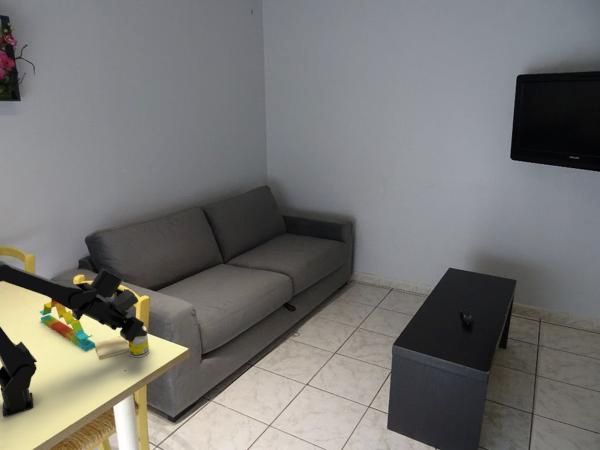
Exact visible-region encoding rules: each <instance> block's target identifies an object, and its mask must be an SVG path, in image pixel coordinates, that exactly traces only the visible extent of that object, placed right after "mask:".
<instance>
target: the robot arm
mask: <svg viewBox="0 0 600 450" xmlns="http://www.w3.org/2000/svg"><path fill="white" fill-rule="evenodd" d="M123 281H124V279H123V278H121V277H119V276H118V275H116V274H114V273H112V272H111V271H109V270H106V269H104V268H101V269H100V270H99V271H98V273H97V275H96V277H94V279H93V281H92V282H91V284H90V283H89V282H86V281H85V282H82V283H81V282H80V283H73V282H71V281H65V280H53V279H49V278H47V277H44V276H41V275H38V274H35V273H32V272H31V271H27V270H24V269H21V268H19V267H17V266H14V265H11V264H8V263H6V262H5V261H2V260H0V283H2V282H4V283H8V284H10V285H13V286H16V287H20V288H23V289H25V290H27V291H31V292H34V293H37V294H39V295H43V296H46V297H48V298H49V299H53V300H54V301H56V302H58V303H59V304H61V305H63V306H64V307H65V309H68V310H70V311H71V313H72V316H73V317H74V319H75V320H79V321H80V320H81V318H82V317H83V315H84V316H86V317H88V318H91V319H93V320H95V321H97V322H98V323H99V324H100V325H103V326H107V327H109V328H110V329H111V330H113V331H116V330H117V329H120V331H119V333H120V334H119V336H122V337H123V338H124V339H125V340H127V342H128V341H129V342H132V341H133V340H134V339H135V337H141V336H146V335H147V336H148V331H147V332H146V331H145V330H144V329H143V328H142V327H143V326H145V325H144V324H145V322H144V321H143V320H141V319H139V318H138V317H136V316H134V315H133V316H130V317H128V316H127V315H128V314H129V312H128V310H129V309H130V308H132V307H133V306H134V305H136V304H138V302H139V299H138V297H137V296H136V294H135V293H134V292H133V291H132V290H130V289H126V288H124V289H120V288H119V287H120V286H121V284H122V283H123ZM99 296H100V297H99ZM101 297H102V298H104V299H102V298H101ZM111 297H113V300H105V299H107V298H108V299H110V298H111ZM129 342H128V343H129ZM0 363H1V365H2V366H1V367H0V393H1V397H2V400H3V401H2V415H3V416H2V417H4V418H5V417H8V416H11V415H15V414H17V413H20V412H24V411H28V410H30V409H32V408H34V397H33V396H34V395H33V393H32V392H30V389H29V388H30V386H31V382H32V377H34V375H35V374H36V371H37V370H38V369H37V365H36V363H38V361H37V359H36V358H35V356H34V355H33V354H32V353H31V352H30V350H29V349H28V347H26V345H25V344H24V342H23V341H19V343H17V344H15V343H14V342H13V341H12V340H11V338H10V337H9V336H8V335H7V333H6V332H5V330H4V329H3V328H2V326H0Z"/></svg>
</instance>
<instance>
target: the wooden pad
mask: <svg viewBox="0 0 600 450" xmlns="http://www.w3.org/2000/svg"><path fill="white" fill-rule="evenodd" d="M94 343H95V348H94V349H95V351H96V354H97V356H98V359H99V360H102V359H105V358H106V359H107V358H110V357H113V356H116V355H120V354H123V353H127V352H130V350H129V342H128V341H127V340H125V339H124V338H123V337H122V336H120V335H119V336H115V337H111V338H107V339H103V340H100V341H95V342H94Z"/></svg>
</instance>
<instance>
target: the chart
mask: <svg viewBox="0 0 600 450" xmlns="http://www.w3.org/2000/svg"><path fill="white" fill-rule="evenodd" d="M50 299H51V298H50ZM53 308H55V309H56V312H57V315H58V318H59V319H62V318H63V319H64V322H65V323H66V324H65V323H64V322H62V321H61V320H59V319H57V318H55V317H54V316H53V315H51V313H52V309H53ZM39 313H40V314H41V315H42V317H40V322H41V323H42V324H43V325H45V326H47V327H48V328H49V329H51V330H53V331H54V332H56V333H57V334H59V335H60V336H61V337H63V338H65V339H66V340H68V341H69V342H71V343H72V344H74V345H75V346H77V347H78V348H80V349H81V350H82V351H84V352H89V351H91V350H93V349H96V348H95V343H96V342H94V341H92V340H91V339H89V338H91V337H93V335H92V334H91V335H88V334H87V333H86V332H85V330H84V328H83V326H82V323H81V322H80V320H76V319H75V318H74V317H73V316H72V310H69V311H67V308H66V307H64V306H63V305H61V304H59V303H58V302H56V301H54V300H53V299H51V300H50V301H49V302H46V303H44V304H43V310H40V311H39ZM69 325H71V327H70V326H69Z"/></svg>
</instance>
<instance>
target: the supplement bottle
mask: <svg viewBox="0 0 600 450" xmlns="http://www.w3.org/2000/svg"><path fill="white" fill-rule="evenodd" d="M142 328H143V329H144V330H145V331H146V332H147V333H148V331H147V327H146V326H145V325H143V327H142ZM127 342H128V344H129V350H130V351H129V355H130V356H131V357H133V358H142V357H145V356H146V355H147V354H149V352H150V347H149V346H150V345H149V339H148V334H147V335H146V336H141V337H135V339H134V340H133V341H132V342H129V341H127Z"/></svg>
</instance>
